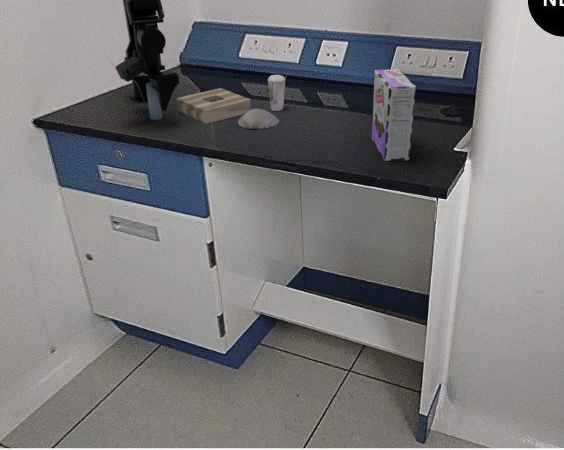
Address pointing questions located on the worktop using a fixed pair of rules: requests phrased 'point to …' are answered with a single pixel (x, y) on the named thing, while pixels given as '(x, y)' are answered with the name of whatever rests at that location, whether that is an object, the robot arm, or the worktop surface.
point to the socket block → (213, 105)
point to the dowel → (153, 103)
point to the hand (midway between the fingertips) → (155, 106)
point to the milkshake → (276, 91)
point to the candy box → (392, 114)
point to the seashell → (258, 119)
